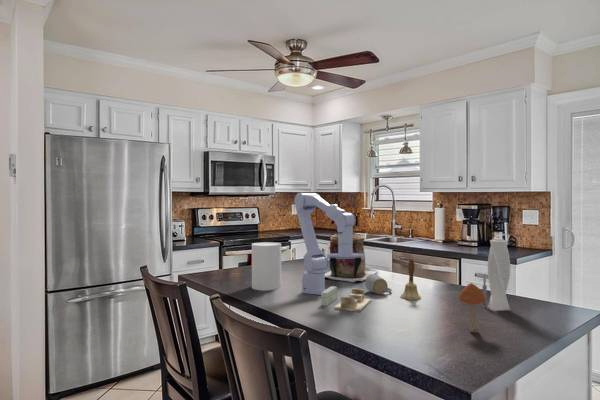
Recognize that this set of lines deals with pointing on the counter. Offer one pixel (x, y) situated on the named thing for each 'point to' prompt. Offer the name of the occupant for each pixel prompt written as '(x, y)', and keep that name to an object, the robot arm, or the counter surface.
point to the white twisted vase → (497, 275)
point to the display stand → (353, 301)
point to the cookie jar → (348, 261)
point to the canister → (266, 266)
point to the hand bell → (411, 285)
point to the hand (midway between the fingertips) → (345, 276)
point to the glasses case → (328, 295)
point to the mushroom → (472, 303)
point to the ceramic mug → (376, 284)
